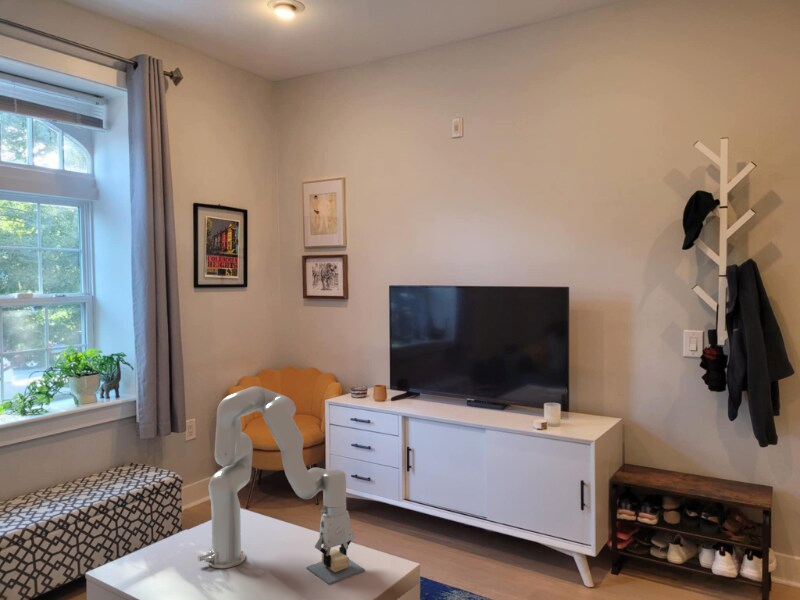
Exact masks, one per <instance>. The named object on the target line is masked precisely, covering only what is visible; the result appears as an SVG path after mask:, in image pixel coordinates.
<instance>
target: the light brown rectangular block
mask: <svg viewBox="0 0 800 600" xmlns="http://www.w3.org/2000/svg"><path fill="white" fill-rule="evenodd" d="M329 555H331V567H330V569H331V570H332V571H334V572H337V571H340V570H342V569H345V568H347V567H349V560H350V557H349V556H346V555H344V554H342V553H341V552H339V550H338V549H336V548H333V549H331V550H330V554H329ZM321 561H322V564H324V554H323V553H321ZM325 566H326V565H325ZM328 568H329V567H328Z"/></svg>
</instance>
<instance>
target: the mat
mask: <svg viewBox="0 0 800 600" xmlns="http://www.w3.org/2000/svg"><path fill="white" fill-rule="evenodd" d="M305 568H306V570H308V571H309V572H311V573H312V574H313V575H314V576H316V577H317V578H318V579H320V580H321V581H323V582H324V583H325V584H327V585H329V586H330V585H334V584H335V583H338V582H340V581H343V580H346V579H348V578H351V577H353V576H356V575H358V574H360V573H363V572H366V569H365V568H364V567H362V566H361V565H359V564H357V563H356V562H355V561H352V560H351V559H349V567H347V568H345V569H342V570H340V571H337V572H334V571H332V570H331V569H330V568H328V567H327V566H325V565H324V564H322V560H321V561H318V562H316V563H313V564H311V565H307V566H306V567H305Z"/></svg>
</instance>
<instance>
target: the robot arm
mask: <svg viewBox="0 0 800 600" xmlns="http://www.w3.org/2000/svg"><path fill="white" fill-rule="evenodd" d="M296 411H297V408H296V405H295V403H294V401H293V400H292V399H291V398H289V396H285V394H284V395H283V394H281V393H277V392H275V391H273V390H270V389H268V388H264V387H261V386H256V385H255V386H250V387H248V388H244V389H242V390H240V391H236V392H234V393H231V394H229V395H227V396H226V397H224V398H223V399H222V400H221V401H220V403H219V404H218V406H217V411H216V426H215V438H214V439H215V440H214V453H213V454H214V459H215V462H216V463H217V465H219V466H221V467H222V468H221V469H219V470H217V472H215V473H214V474H213V475H212V476H211V478H210V479H209V483H208V493H209V494H208V495H209V499H210V505H211V506H210V510H211V511H210V512H211V547H210V548H209V549H208V551H207V552H206V553H205V554H199V555H197V561H198V562H203V561H204V563H207V564H208V566H209V567H211V568H215V569H229V568H233V567H236V566H238V565H240V564H242V563H244V562H245V560H246V552H245V551H244V550H242V540H241V539H242V534H241V531H242V530H241V529H242V527H241V526H242V525H241V504H240V500H239V497H238V496H239V495H238V492H239V491H240V490H241V489H243V488H244V487H246V485H247V484H248V483H249V481H250V479H251V476H252V465H253V451H254V449H253V448H254V446H253V442H252V439H251V437H250V436H249V435H248V434H247V433H245V432H243V431H242V430H243V423H242V419H241V418H243V417H244V416H248V415H250V414H253V413H254V412H261V413H262V418H263V420H264V423H265V424H266V426H267V428H268V430H269V432H270V433H271V436H272V437H273V439H274V441H275V442H276V444H277V446H278V448H279V450H280V454H281V462H282V466H283V471H284V474H285V477H286V478H287V480H288V483H289V484H290V486H291V488H292V490H293V491H294V492H295V494H296V495H297V496H298V497H299V498H301V499H303V500H309V499H312V498H314V497H315V496H316V495H317V494H318V493H319V492H321V491H323V493H322V494H323V496H322V497H323V499H322V500H323V503H322V504H323V505H322V508H321V509H320V514H321V518H320V522H319V523H320V525H319V539H318V540H317V541H316V543H315V545H314V548H315V549H316V550H318V551H319V552H321V554H324V565H326V566H327V567H329V568H330V567H331V555H329V554H330V551H331V550H332V548H335V547H338V546H340V547H339V550H338V551H339V552H341V553H342V554H344V555H346V556H347V550H348V549H349V545H350V544H351V542H352V540H353V539H354V538H355V534H354V532H353V531H352V525H351V523H352V522H351V517H350V514H349V510H347V475H346V473H345V472H344V471H343V470H338V469H332V470H330V469H325V468H322V467H321V468H320V467H312V468H310V469H307V466H306V464H305V461H304V456H303V449H304V442H305V441H304V439H305V438H304V436H303V434H302V432H301V430H300V429H299V427H298V425H297V424H296V421H295V420H294V418H293V417H294V416H295V415H296ZM322 545H323V546H322Z"/></svg>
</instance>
